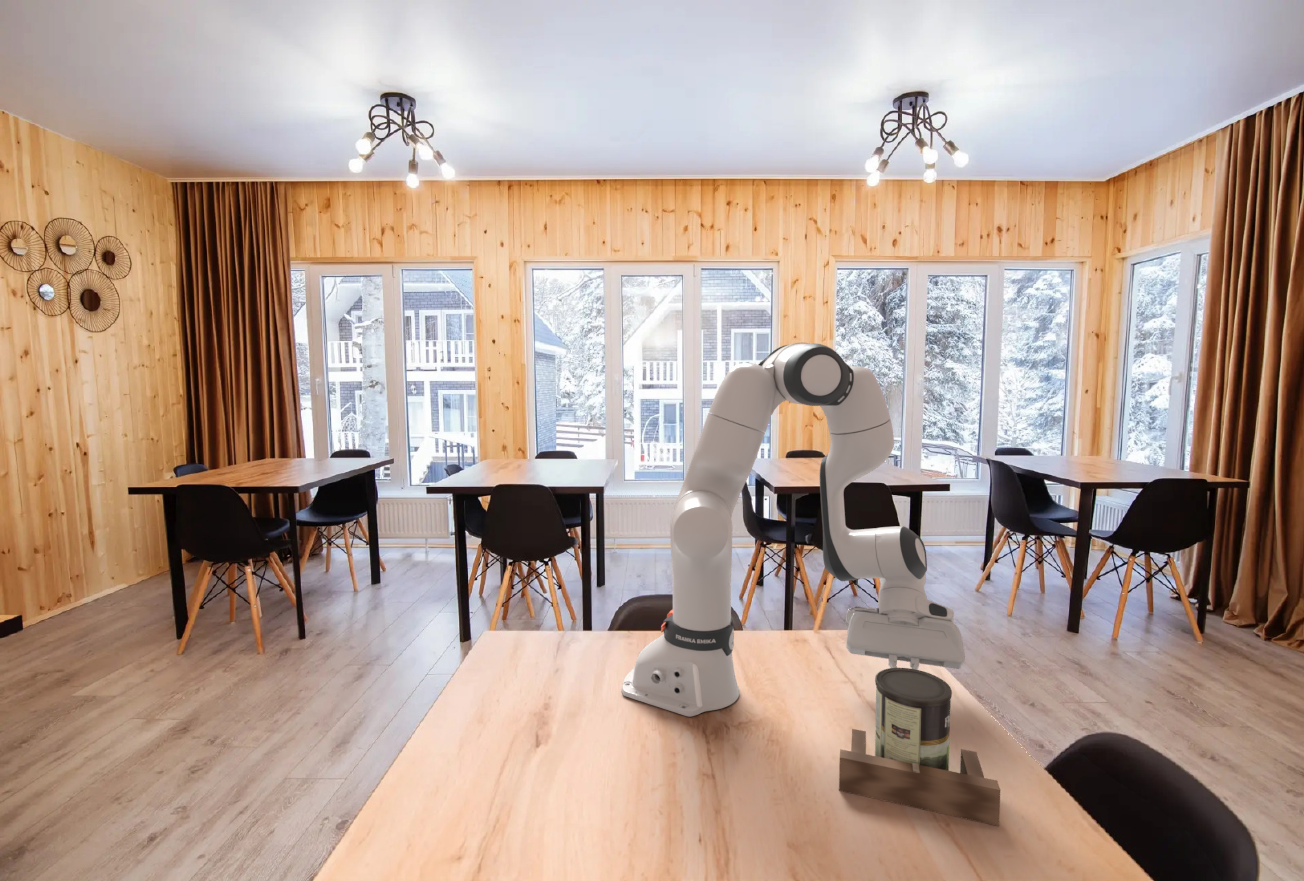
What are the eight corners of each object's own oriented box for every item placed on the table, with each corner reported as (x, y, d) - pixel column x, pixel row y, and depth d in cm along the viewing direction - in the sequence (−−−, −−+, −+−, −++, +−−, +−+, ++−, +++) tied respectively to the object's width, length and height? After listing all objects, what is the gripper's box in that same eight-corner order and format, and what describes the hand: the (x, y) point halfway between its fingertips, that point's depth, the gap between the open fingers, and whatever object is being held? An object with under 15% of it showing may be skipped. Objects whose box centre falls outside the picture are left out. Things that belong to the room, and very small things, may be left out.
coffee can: (940, 758, 89) (943, 671, 88) (956, 803, 79) (959, 706, 78) (870, 747, 92) (872, 663, 91) (876, 790, 82) (879, 696, 81)
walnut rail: (839, 790, 82) (839, 756, 82) (841, 757, 90) (841, 725, 89) (999, 826, 75) (1000, 788, 75) (987, 787, 82) (988, 752, 82)
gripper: (846, 597, 113) (843, 667, 104) (963, 611, 105) (969, 687, 97) (846, 611, 117) (843, 680, 109) (958, 625, 110) (964, 699, 102)
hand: (904, 683), depth 103 cm, fingers closed
